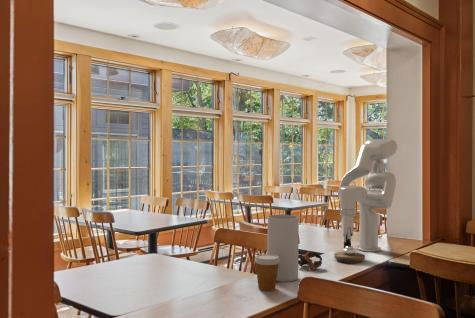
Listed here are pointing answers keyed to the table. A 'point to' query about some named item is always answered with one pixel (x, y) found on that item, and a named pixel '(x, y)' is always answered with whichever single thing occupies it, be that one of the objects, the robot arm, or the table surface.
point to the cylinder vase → (284, 245)
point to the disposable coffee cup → (267, 271)
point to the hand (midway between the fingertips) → (347, 249)
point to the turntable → (349, 257)
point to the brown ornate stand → (307, 261)
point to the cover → (349, 250)
